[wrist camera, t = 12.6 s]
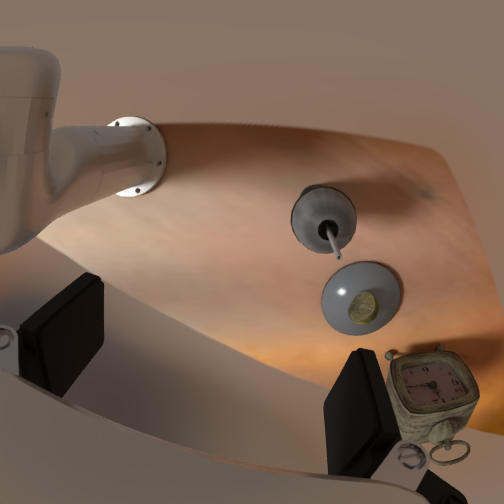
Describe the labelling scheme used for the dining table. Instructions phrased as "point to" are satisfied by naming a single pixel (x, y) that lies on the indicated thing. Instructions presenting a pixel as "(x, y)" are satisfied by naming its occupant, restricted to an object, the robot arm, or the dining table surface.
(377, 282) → the slate plate
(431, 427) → the tabletop clock
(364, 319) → the lime
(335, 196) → the beverage cup
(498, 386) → the dining table surface
